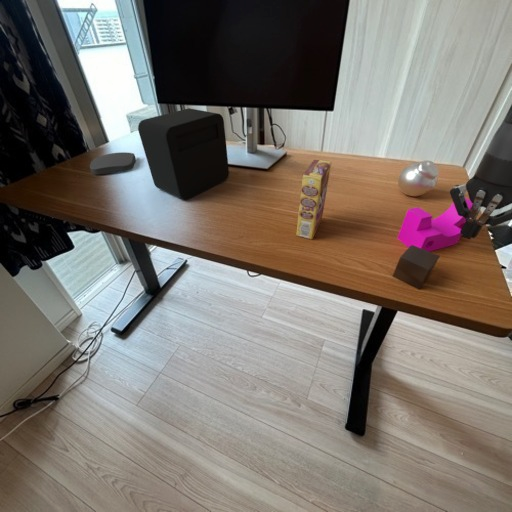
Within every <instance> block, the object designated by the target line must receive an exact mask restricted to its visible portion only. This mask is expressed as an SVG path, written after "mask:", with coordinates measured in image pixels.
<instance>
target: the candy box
mask: <svg viewBox="0 0 512 512" xmlns="http://www.w3.org/2000/svg"><path fill="white" fill-rule="evenodd" d="M331 167H332V161H329V160H321V159H313V160H312V161H311V163H310V164H309V166H308V168H306V170H305V172H304V173H302V181H301V189H300V196H299V198H300V199H299V207H298V215H297V225H296V233H295V234H296V235H295V236H296V237H299V238H304V239H307V240H313V239H314V236H315V234H316V232H317V230H318V228H319V226H320V225H321V222H322V221H323V214H324V208H325V204H326V203H325V202H326V198H327V197H326V196H327V192H328V185H329V179H330V172H331V169H332V168H331Z"/></svg>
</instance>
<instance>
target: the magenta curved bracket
mask: <svg viewBox="0 0 512 512" xmlns="http://www.w3.org/2000/svg"><path fill="white" fill-rule="evenodd" d="M465 200H466V202H467V205H468V207H469V210H470V209H471V207H472V204H473V203H472V202H471V201H470V198H467V197H465ZM465 222H466V219H465V218H464V217H463V216H459V215H458V213H457V210H456V208H455V205H454V203H453V202H452V204H450V206H449V207H448V208H447V209H446V210H445V211H444V212H443V213H442V214H440V215H439V216H437V217H435V218H433V215H432V214H430V213H429V212H428V211H425V210H424V209H422V208H421V207H418V206H417V207H413V208H408V209H407V211H406V213H405V216H404V220H403V222H402V224H401V227H400V230H399V232H398V235H397V237H396V239H397V240H398V241H400V242H401V243H403V245H404V246H406V247H407V248H409V247H410V246H411V245H414V246H416V247H418V248H421V249H423V250H426V251H428V252H434V251H436V250H440V249H443V248H446V247H451V246H454V245H457V243H458V242H459V240H460V238H461V237H462V235H463V234H460V231H461V229H462V227H463V225H464V224H465Z"/></svg>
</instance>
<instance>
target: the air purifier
mask: <svg viewBox="0 0 512 512" xmlns="http://www.w3.org/2000/svg"><path fill="white" fill-rule="evenodd" d="M137 125H138V126H137V129H138V135H139V138H140V141H141V144H142V148H143V152H144V154H145V159H146V161H147V165H148V168H149V172H150V174H151V178H152V181H153V184H154V186H155V188H157V189H158V190H161V191H163V192H165V193H167V194H170V195H172V196H174V197H176V198H179V199H180V200H183V201H188V200H190V199H192V198H195V197H196V196H198V195H200V194H203V193H204V192H207V191H208V190H210V189H212V188H214V187H217V186H218V185H220V184H222V183H224V182H226V181H227V180H228V178H229V177H230V176H229V175H230V168H229V158H228V149H227V139H226V129H225V128H226V127H225V120H224V117H223V115H222V114H220V113H217V112H212V111H207V110H200V109H195V108H185V109H181V110H176V111H172V112H168V113H165V114H161V115H157V116H153V117H148V118H145V119H142V120H141V121H139V123H138V124H137Z"/></svg>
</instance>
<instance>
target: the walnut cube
mask: <svg viewBox="0 0 512 512" xmlns="http://www.w3.org/2000/svg"><path fill="white" fill-rule="evenodd" d="M439 258H440V255H438V254H436V253H433V252H432V251H430V252H428V251H426V250H423V249H421V248H418V247H416V246H414V245H411V246H410V247H407V249H406V250H405V252H403V253H402V254H401V255H400V256H399V260H398V262H397V264H396V267H395V269H394V271H393V274H392V278H395V279H397V280H399V281H401V282H403V283H405V284H407V285H410V286H412V287H413V288H415V289H417V290H420V289H421V288H422V286H423V285H424V284H425V282H426V281H427V279H428V278H429V277H430V275H431V273H432V271H433V270H434V268H435V266H436V264H437V262H438V260H439Z"/></svg>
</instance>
